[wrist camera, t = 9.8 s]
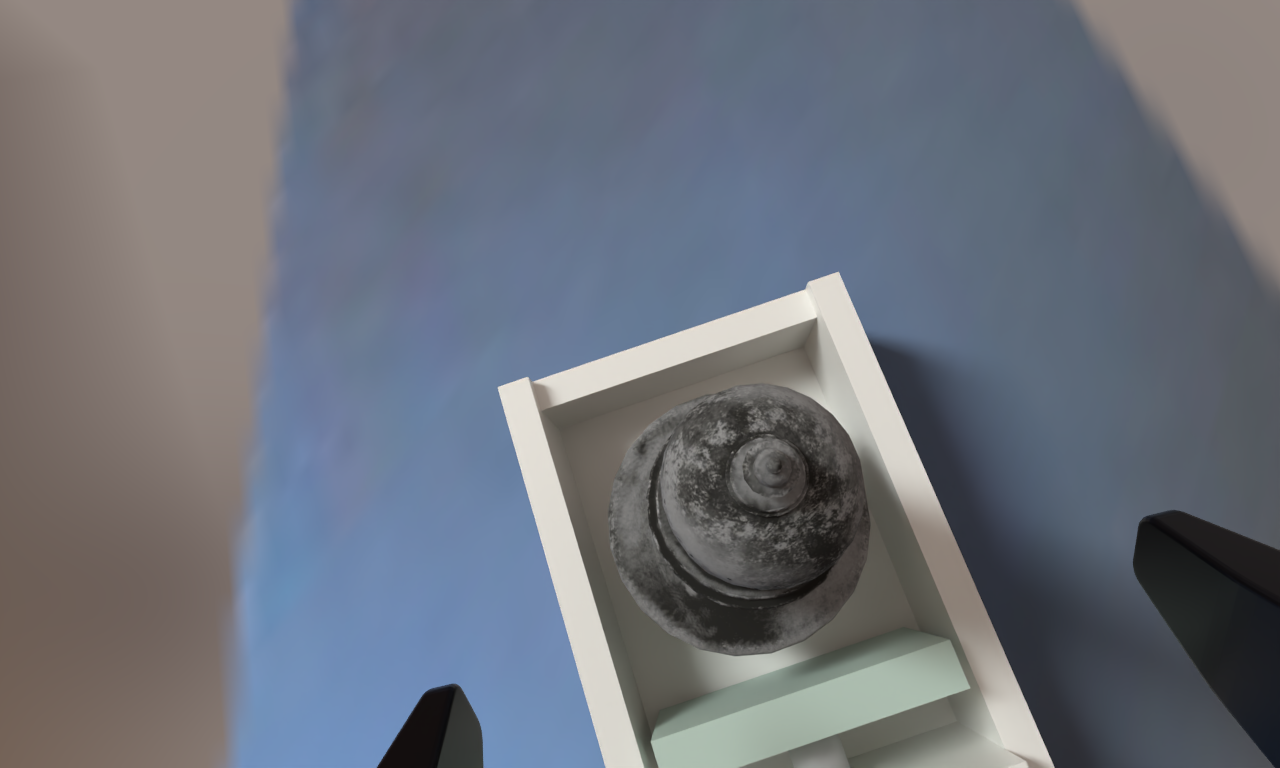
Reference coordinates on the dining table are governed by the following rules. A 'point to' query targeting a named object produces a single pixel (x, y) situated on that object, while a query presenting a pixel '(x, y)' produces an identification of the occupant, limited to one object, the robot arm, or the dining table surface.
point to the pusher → (808, 701)
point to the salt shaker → (741, 520)
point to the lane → (882, 602)
